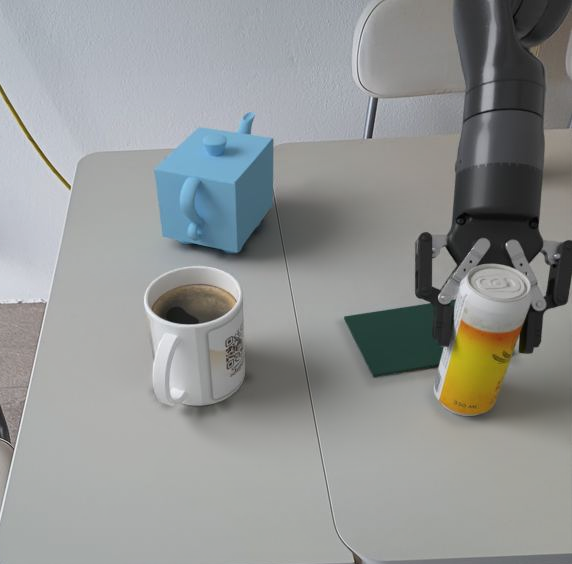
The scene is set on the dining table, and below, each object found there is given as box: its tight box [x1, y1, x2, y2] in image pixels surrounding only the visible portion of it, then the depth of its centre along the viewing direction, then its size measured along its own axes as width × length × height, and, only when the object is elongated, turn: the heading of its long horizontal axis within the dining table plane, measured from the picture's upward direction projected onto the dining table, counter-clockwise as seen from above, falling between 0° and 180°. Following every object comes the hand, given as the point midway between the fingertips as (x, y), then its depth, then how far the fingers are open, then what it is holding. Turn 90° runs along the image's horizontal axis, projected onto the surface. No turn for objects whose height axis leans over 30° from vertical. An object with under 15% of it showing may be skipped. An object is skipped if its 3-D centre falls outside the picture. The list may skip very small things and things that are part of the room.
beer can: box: [433, 264, 532, 417], centre depth 62 cm, size 6×6×15 cm
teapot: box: [153, 111, 275, 254], centre depth 88 cm, size 22×11×14 cm, turn 156°
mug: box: [143, 265, 246, 407], centre depth 67 cm, size 10×12×11 cm
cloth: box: [343, 298, 456, 378], centre depth 74 cm, size 16×10×1 cm, turn 100°
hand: (484, 349), depth 60 cm, fingers open, 6 cm apart
